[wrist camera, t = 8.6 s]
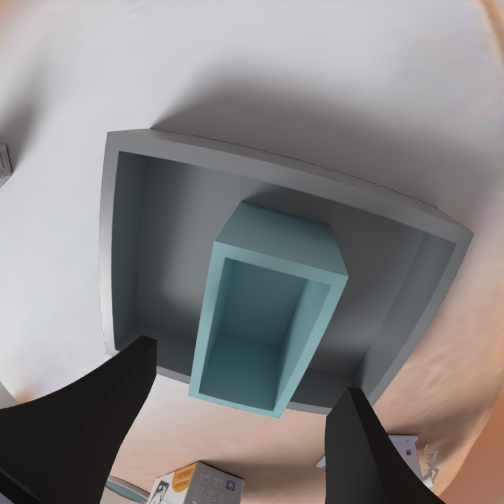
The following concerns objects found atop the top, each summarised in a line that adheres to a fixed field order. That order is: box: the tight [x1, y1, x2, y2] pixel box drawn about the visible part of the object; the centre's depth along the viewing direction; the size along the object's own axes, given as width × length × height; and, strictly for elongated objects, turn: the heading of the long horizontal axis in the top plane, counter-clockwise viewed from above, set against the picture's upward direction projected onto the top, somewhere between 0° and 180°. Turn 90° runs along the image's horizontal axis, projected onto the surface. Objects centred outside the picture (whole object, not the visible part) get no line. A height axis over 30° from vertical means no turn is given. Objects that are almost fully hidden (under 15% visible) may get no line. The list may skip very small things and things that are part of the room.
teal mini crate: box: [188, 201, 349, 418], centre depth 15 cm, size 5×9×6 cm, turn 167°
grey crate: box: [99, 129, 474, 415], centre depth 17 cm, size 18×14×4 cm
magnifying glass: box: [105, 475, 150, 504], centre depth 43 cm, size 13×31×2 cm, turn 86°
